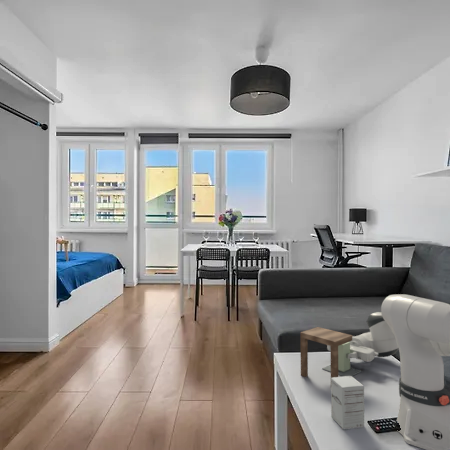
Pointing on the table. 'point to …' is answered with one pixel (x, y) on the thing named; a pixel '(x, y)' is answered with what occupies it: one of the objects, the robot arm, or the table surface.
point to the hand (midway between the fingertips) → (340, 354)
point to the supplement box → (347, 402)
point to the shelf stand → (322, 337)
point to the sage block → (343, 357)
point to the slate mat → (347, 373)
